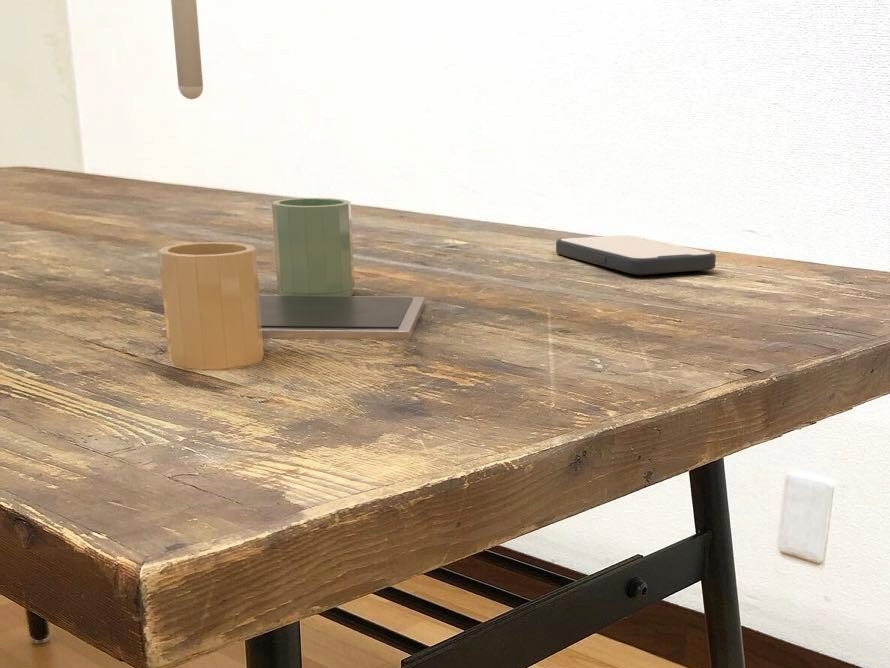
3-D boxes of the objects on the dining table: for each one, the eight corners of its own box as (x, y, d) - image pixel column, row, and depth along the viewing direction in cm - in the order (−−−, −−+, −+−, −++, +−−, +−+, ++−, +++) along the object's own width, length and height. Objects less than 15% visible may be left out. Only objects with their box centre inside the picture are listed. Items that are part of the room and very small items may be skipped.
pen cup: (272, 300, 94) (265, 206, 91) (286, 287, 99) (280, 197, 97) (348, 301, 94) (343, 207, 91) (358, 287, 99) (354, 198, 97)
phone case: (550, 255, 118) (633, 279, 104) (550, 238, 117) (634, 259, 104) (631, 250, 121) (721, 272, 108) (631, 234, 121) (722, 253, 107)
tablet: (162, 343, 80) (160, 327, 79) (208, 308, 91) (206, 293, 91) (409, 346, 80) (409, 329, 80) (425, 310, 91) (424, 295, 91)
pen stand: (159, 377, 72) (146, 255, 69) (184, 355, 77) (173, 241, 74) (252, 378, 72) (243, 256, 69) (271, 356, 77) (263, 242, 74)
